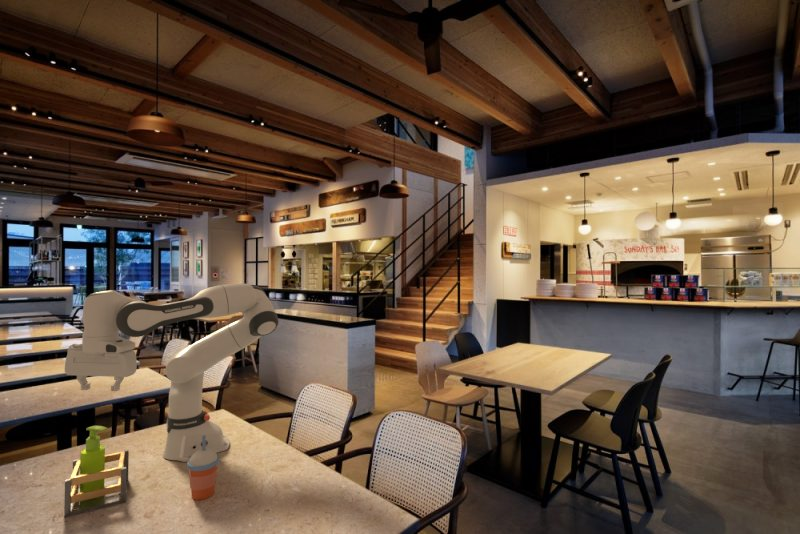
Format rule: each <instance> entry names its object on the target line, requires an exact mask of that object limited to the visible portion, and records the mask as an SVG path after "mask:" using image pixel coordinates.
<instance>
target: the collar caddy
mask: <svg viewBox="0 0 800 534" xmlns="http://www.w3.org/2000/svg"><path fill="white" fill-rule="evenodd" d="M129 452H130V451H129V449H124V450H123V451H120V452H114V453H109V454H105V463H110V462H116V461H119V463H118V466H117V467H113V468H108V469H105V470H103V471H98V472H93V473H88V474H83V475H80V459H78V458H77V459H73V461H72V473H71V476H70V478H67V479H65V480H64V509H63V510H64V515H63V517H64V518H68V517H71V516H77V515H79V514H83V513H87V512H92V511H95V510H100V509H103V508H107V507H112V506H116V505H119V504H124V503H126V502H127V494H128V493H127V492H128V485H129V466H130V465H129V459H130V456H129V455H130V453H129ZM113 477H118V478H117V479H114V480H113V479H112V480H107V481H104V487H103V488H98V489H94V490H89V491H85V492H80V484H81V483H86V482H90V481H95V480H99V479H104V480H105V479H110V478H113Z"/></svg>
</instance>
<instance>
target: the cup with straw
mask: <svg viewBox="0 0 800 534" xmlns="http://www.w3.org/2000/svg"><path fill="white" fill-rule="evenodd" d="M205 439H206V436H205V435H204V436H202V449H200V450H198V451H196V452H195V453H194V454H193V455H192V457H191V458H190V460H189V461H188V462H186V468H187V470H189V472H188V477H189V479H188V480H189V487H190V491H191V493H190V494H191V498H192V499H193V500H196V501H200V500H206V499H208V498H210V497H212V496H213V495H214V493H215V487H216V483H217V476H218V475H217V474H218V465H219V464H220V459H221V458H220V456H219V455H218V453H216V452H215V451H214V450H212V449H209V448H205Z"/></svg>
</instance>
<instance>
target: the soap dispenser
mask: <svg viewBox="0 0 800 534" xmlns="http://www.w3.org/2000/svg"><path fill="white" fill-rule="evenodd" d="M85 429H86V431H89V436H88V437H87V438H86V439H85V447H84V449H82V450H81V451H80V455H79V456H80V457H79V458H80V459H79V460H80V471H79V475H83V474H88V473H93V472H98V471H103V470H106V469H105V467H106V464H105V455H106V446H105V445H102V444H101V437H100V435H98V432H99V433H101V432H103V431H106V430H108V427H106V426H102V425H91V426H88V427H86V428H85ZM104 482H105V479H99V480H95V481H90V482H86V483H81V484H80V487H79V488H80V492H85V491H89V490H94V489H98V488H103V487H104Z"/></svg>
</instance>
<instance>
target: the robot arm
mask: <svg viewBox="0 0 800 534" xmlns="http://www.w3.org/2000/svg"><path fill="white" fill-rule="evenodd" d="M239 313H241V314H242V316H243V317H241V318H240V319H238V320H236V321H233V322H231V323H229V324H226V325H225V326H223V327H221V328H219V329H218V330H215V331H213V332H212V333H210V334H208V335H206V336H205V337H203V338H201V339H199V340H197V341H195V342H194V343H192V344H187V345H183V346H181V347H180V348H179V349H177V350H176V351H175V352H174V353H173V354H172V356H170V357H169V359H168V360H167V362H166V365H165V375H166V378H167V379H168V380H169V381H170V386H169V392H168V415H167V416H166V417H167V419H166V432H167V436H166V442H165V446H164V450H163V453H162V457H163V458H164V459H166V460H169V461H170V460H171V461H179V462H183V463H187V462H188V461H189V460H190V458H191V457H192V455H193V454H194V453H195V452H196V451H198V450H200V449H202V436H204V435H205V436H206V439H205V448H209V449H212V450H214V451H215V452H216V454H218V453H221V452H225V451H226V450H229V449H228V448H230V440H229V438H228V437H227V436H226V435H224V432H223V430H222V428H221V427H220V425H218V424H217V423H215V422H213V421H211V420H210V419H211V415H210V414H209V413H208V412H207V411H206V410H205V409H203V385H204V375H205V373H204V372H206V371H208V370H209V369H210V368H213V367H214V366H216V364H218V363H220V362H221V361H223V360H225V359H226V358H227V359H228V357H230V356H232V355H234V354H236V353H238V352H240V351H241V350H243V349H245V348H246V347H248V346H250V345H253V343H255V342H256V341H258V339H260V338H261V337H264V336H268V335H270V334H271V333H273V332H274V331H275V330H276V329H277V328H278V325H279V317H278V315H277V313H276V311H275V307H274V306H273V303H272V302H271V300H270V299H269V297H268V296H267V294H266V291H264V289H263V288H261V287H260V286H258V285H255V284H250V283H228V284H219V285H214V286H210V287H207V288H204V289H201V290H199V291H198V293H196V294H195V295H193V296H192V297H190V298H187V299H184V300H179V301H174V302H169V303H164V304H163V303H162V304H150V303H148V302H146V301H145V300H140V299H137V298H133V297H129V296H127V295H124V294H122V293H120V292H118V291H117V290H114V289H109V290H101V291H96V292H93V293H90V294H89V295H87V297H86V298H85V299H84V303H83V309H82V324H83V328H84V329H83V332H82V339H81V341H82V343H72V344H71V345H70V346H68V348H67V355H66V357H65V363H64V373H65V374H66V376H76V379H77V382H78V383H79V385H80V390H81V391H88V390H90V389H91V382H88V380H87V378H88V377H111V378H112V377H113V379H114V381H115V382H114V384H112V385H110V388H111V389H110V391H111V392H118V391H120V389H121V384H122V382H123V380H124V379H125V378H128V377H131V376H133V375H135V373H136V371H137V367H138V366H137V365H138V364H137V354H136V352H135V348H136V342H135V341H132V340H130V339H126V338H124V337H121V336H120V333H122V334H124V335H125V336H128V337H130V338H139V337H144V336H146V335H149V334H151V333H152V332H153V331H155V330H156V329H159V328H160V327H162V326H165V325H170V324H176V323H180V322H183V321H184V322H185V321H188V320H194V319H210V318H211V319H213V318H220V317H222V318H223V317H225V316H226V317H227V316H231V315H232V316H233V315H235V314H239Z"/></svg>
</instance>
